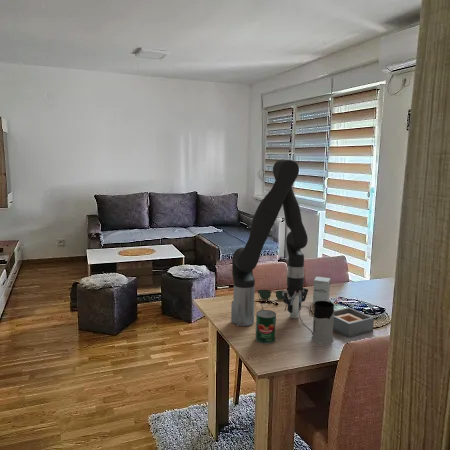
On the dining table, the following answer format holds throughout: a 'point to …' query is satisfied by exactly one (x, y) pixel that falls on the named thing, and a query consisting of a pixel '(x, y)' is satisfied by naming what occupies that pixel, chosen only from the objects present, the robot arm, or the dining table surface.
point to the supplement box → (321, 289)
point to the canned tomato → (265, 326)
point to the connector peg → (295, 307)
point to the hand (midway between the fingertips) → (294, 311)
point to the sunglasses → (269, 294)
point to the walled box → (352, 322)
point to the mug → (322, 322)
